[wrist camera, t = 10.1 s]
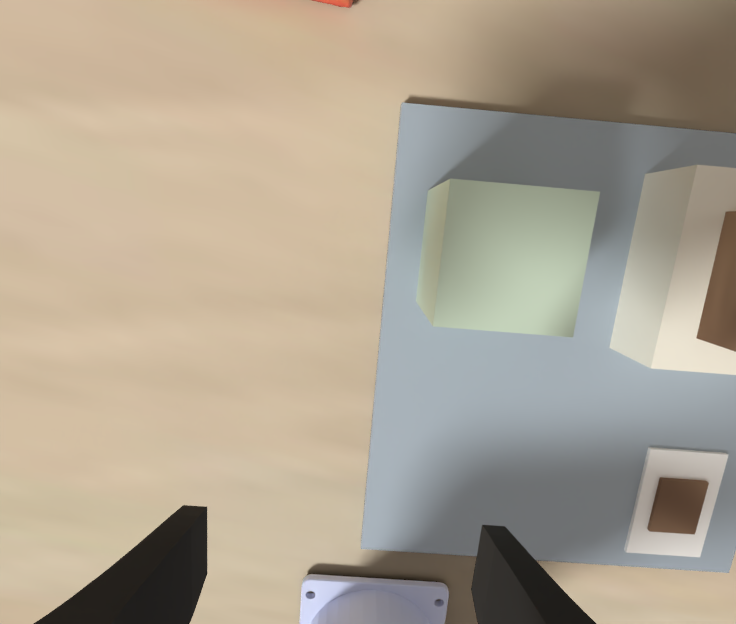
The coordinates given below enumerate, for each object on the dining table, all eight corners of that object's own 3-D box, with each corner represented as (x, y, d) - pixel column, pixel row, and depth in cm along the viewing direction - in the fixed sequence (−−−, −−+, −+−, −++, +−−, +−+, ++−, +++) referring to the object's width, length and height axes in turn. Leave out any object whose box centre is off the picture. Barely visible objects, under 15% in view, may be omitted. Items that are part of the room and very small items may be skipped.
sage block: (521, 309, 20) (572, 337, 15) (415, 301, 20) (432, 326, 15) (539, 200, 19) (600, 191, 14) (427, 190, 19) (450, 178, 14)
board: (721, 565, 23) (735, 578, 23) (361, 541, 23) (360, 554, 22) (843, 146, 19) (866, 142, 18) (400, 105, 18) (402, 99, 18)
